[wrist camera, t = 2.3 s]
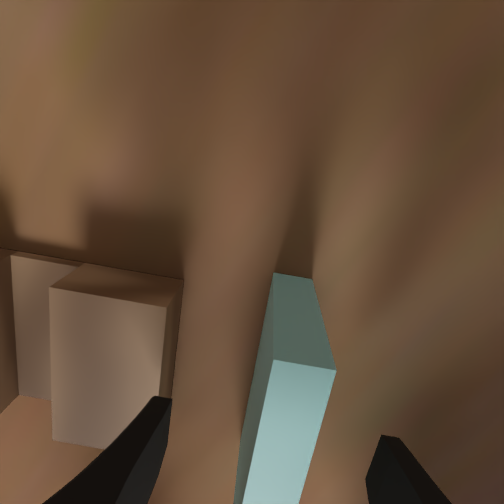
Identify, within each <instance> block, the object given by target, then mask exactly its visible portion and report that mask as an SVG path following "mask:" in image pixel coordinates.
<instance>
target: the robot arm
mask: <svg viewBox="0 0 504 504" xmlns="http://www.w3.org/2000/svg"><path fill="white" fill-rule="evenodd" d="M171 407H172V399H171V398H165V397H159V396H153V397H152V398H151V399H150V400H149V401H148V403H147V404H146V405H145V406H144V408H143V409H142V410H141V411H140V413H139V414H138V415H137V416H136V417H135V418H134V419H133V421H132V422H131V423H130V424H129V425H128V426H127V427H126V428H125V429H124V430H123V432H122V433H121V434H120V435H119V436H118V437H117V438H116V439H115V440H114V441H113V442H112V443H111V444H110V445H109V446H108V447H107V448H106V449H105V450H104V451H103V452H102V453H101V454H100V455H99V456H98V457H97V458H96V459H95V460H94V461H92V462H91V463H90V464H89V465H88V466H87V467H86V468H85V469H84V470H83V471H82V472H80V473H79V474H78V475H77V476H76V477H75V478H74V479H72V480H71V481H70V482H69V483H68V484H66V485H65V486H64V487H63V488H62V489H60V490H59V491H58V492H57V493H55V494H54V495H53V496H52V497H50V498H49V499H48V500H46V501H45V502H44V503H42V504H147V503H148V500H149V498H150V495H151V493H152V490H153V488H154V485H155V483H156V480H157V478H158V475H159V471H160V468H161V465H162V461H163V458H164V454H165V451H166V447H167V443H168V434H169V425H170V416H171ZM365 480H366V487H367V494H368V500H369V504H451V502H450V501H449V500H448V499H447V498H446V496H445V495H444V494H443V493H442V491H441V490H440V489H439V488H438V487H437V485H436V484H435V483H434V482H433V480H432V479H431V478H430V476H429V475H428V474H427V473H426V471H425V470H424V469H423V468H422V466H421V465H420V464H419V462H418V461H417V460H416V459H415V457H414V456H413V455H412V453H411V452H410V451H409V450H408V448H407V447H406V446H405V445H404V443H403V442H402V441H401V440H400V438H397V437H391V436H385V435H381V437H380V440H379V443H378V445H377V448H376V451H375V454H374V456H373V459H372V462H371V465H370V468H369V470H368V473H367V476H366V479H365Z"/></svg>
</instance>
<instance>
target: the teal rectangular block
mask: <svg viewBox="0 0 504 504" xmlns="http://www.w3.org/2000/svg"><path fill="white" fill-rule="evenodd" d="M336 371H337V370H336V367H335V363H334V359H333V355H332V352H331V348H330V344H329V341H328V337H327V333H326V329H325V326H324V322H323V318H322V314H321V311H320V307H319V303H318V299H317V296H316V292H315V288H314V284H313V281H312V279H308V278H302V277H297V276H291V275H285V274H279V273H274V272H273V278H272V283H271V288H270V293H269V298H268V303H267V308H266V313H265V318H264V323H263V328H262V333H261V338H260V344H259V349H258V354H257V359H256V364H255V369H254V374H253V379H252V384H251V389H250V394H249V399H248V404H247V409H246V415H245V420H244V425H243V430H242V435H241V440H240V448H239V458H238V467H237V476H236V485H235V494H234V503H233V504H298V503H299V500H300V496H301V493H302V489H303V486H304V483H305V479H306V476H307V472H308V469H309V465H310V462H311V458H312V455H313V451H314V448H315V444H316V441H317V437H318V434H319V430H320V427H321V423H322V420H323V416H324V413H325V409H326V406H327V402H328V399H329V395H330V392H331V388H332V385H333V381H334V378H335V374H336Z"/></svg>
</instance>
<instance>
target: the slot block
mask: <svg viewBox="0 0 504 504" xmlns="http://www.w3.org/2000/svg"><path fill="white" fill-rule="evenodd" d="M183 285H184V280H181V279H175V278H169V277H164V276H158V275H152V274H146V273H141V272H135V271H129V270H123V269H118V268H112V267H106V266H101V265H95V264H89V263H83V262H78V261H72V260H66V259H60V258H55V257H49V256H43V255H37V254H32V253H26V252H20V251H15V250H9V249H3V248H0V413H1V412H2V411H3V410H4V409H5V408H6V407H7V406H8V405H9V404H10V403H11V402H12V401H13V400H14V399H15V398H16V397H17V396H18V395H23V396H28V397H34V398H40V399H46V400H51V401H52V440H54V441H60V442H66V443H71V444H77V445H83V446H88V447H94V448H100V449H106V448H107V447H108V446H109V445H110V444H111V443H112V442H113V441H114V440H115V439H116V438H117V437H118V436H119V435H120V434H121V433H122V432H123V430H124V429H125V428H126V427H127V426H128V425H129V424H130V423H131V422H132V421H133V419H134V418H135V417H136V416H137V415H138V414H139V413H140V411H141V410H142V409H143V408H144V406H145V405H146V404H147V403H148V401H149V400H150V399H151V398H152V397H153V396H159V397H165V398H171V394H172V385H173V376H174V367H175V357H176V348H177V339H178V330H179V321H180V312H181V303H182V294H183Z"/></svg>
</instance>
